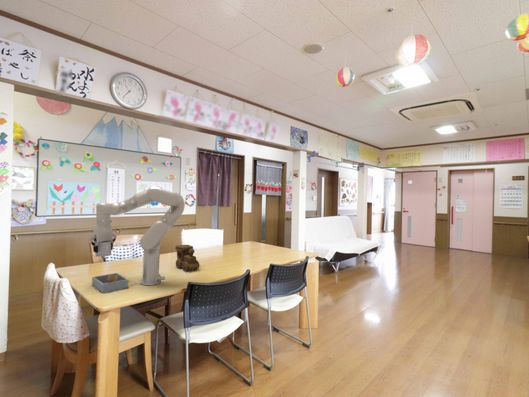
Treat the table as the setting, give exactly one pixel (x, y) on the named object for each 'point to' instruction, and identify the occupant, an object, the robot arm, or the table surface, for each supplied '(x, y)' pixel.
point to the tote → (105, 287)
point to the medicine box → (104, 249)
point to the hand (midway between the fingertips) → (103, 251)
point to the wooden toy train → (186, 257)
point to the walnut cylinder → (112, 278)
